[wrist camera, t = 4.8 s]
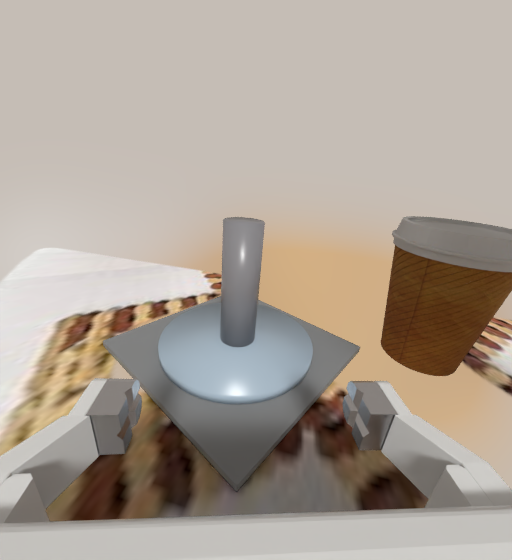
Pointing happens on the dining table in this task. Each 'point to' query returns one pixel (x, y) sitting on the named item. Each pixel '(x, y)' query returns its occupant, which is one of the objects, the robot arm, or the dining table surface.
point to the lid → (236, 333)
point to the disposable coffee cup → (444, 290)
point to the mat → (229, 417)
